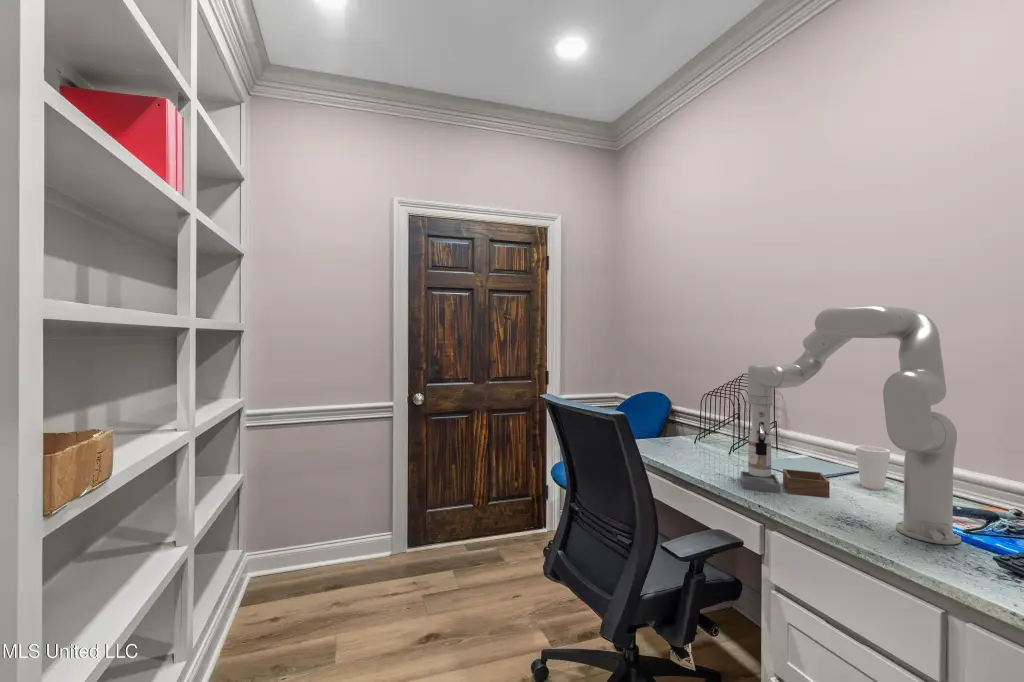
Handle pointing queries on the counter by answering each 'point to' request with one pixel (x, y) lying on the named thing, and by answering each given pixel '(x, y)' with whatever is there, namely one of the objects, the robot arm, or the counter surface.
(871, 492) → the counter surface
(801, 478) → the small wooden crate
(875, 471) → the foam cup
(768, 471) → the bath foam
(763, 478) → the tray
